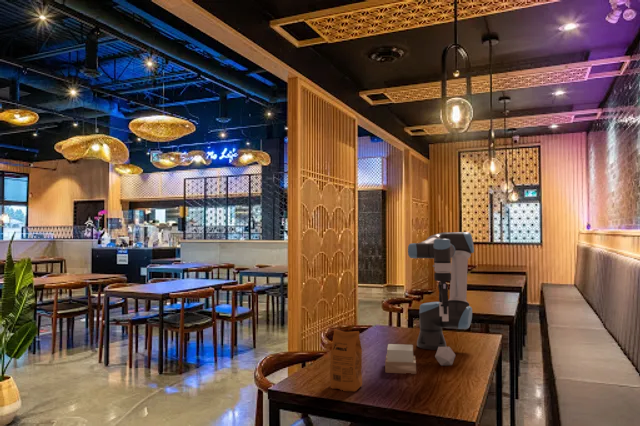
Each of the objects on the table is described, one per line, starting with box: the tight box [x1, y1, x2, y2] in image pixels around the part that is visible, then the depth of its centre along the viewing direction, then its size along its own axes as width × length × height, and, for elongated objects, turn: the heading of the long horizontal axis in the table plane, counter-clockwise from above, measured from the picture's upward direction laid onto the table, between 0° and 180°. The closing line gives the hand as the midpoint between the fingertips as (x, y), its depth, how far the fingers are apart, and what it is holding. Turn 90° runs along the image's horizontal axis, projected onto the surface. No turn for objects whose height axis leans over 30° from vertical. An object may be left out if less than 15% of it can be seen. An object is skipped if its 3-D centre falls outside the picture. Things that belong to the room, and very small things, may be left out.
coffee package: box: [329, 328, 363, 392], centre depth 175 cm, size 10×12×22 cm
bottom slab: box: [384, 353, 417, 375], centre depth 198 cm, size 13×13×5 cm
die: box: [434, 346, 456, 366], centre depth 204 cm, size 8×9×10 cm
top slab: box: [386, 343, 414, 363], centre depth 198 cm, size 11×11×5 cm
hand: (443, 318), depth 205 cm, fingers open, 13 cm apart
